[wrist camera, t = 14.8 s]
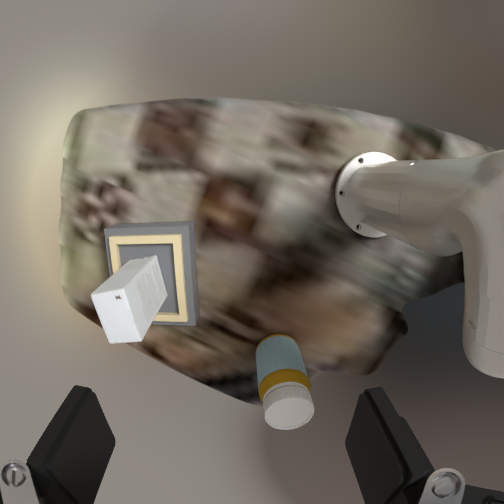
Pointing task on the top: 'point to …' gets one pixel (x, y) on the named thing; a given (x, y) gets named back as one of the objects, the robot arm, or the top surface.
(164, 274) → the tray
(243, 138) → the top surface
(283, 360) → the bottle
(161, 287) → the skincare box
